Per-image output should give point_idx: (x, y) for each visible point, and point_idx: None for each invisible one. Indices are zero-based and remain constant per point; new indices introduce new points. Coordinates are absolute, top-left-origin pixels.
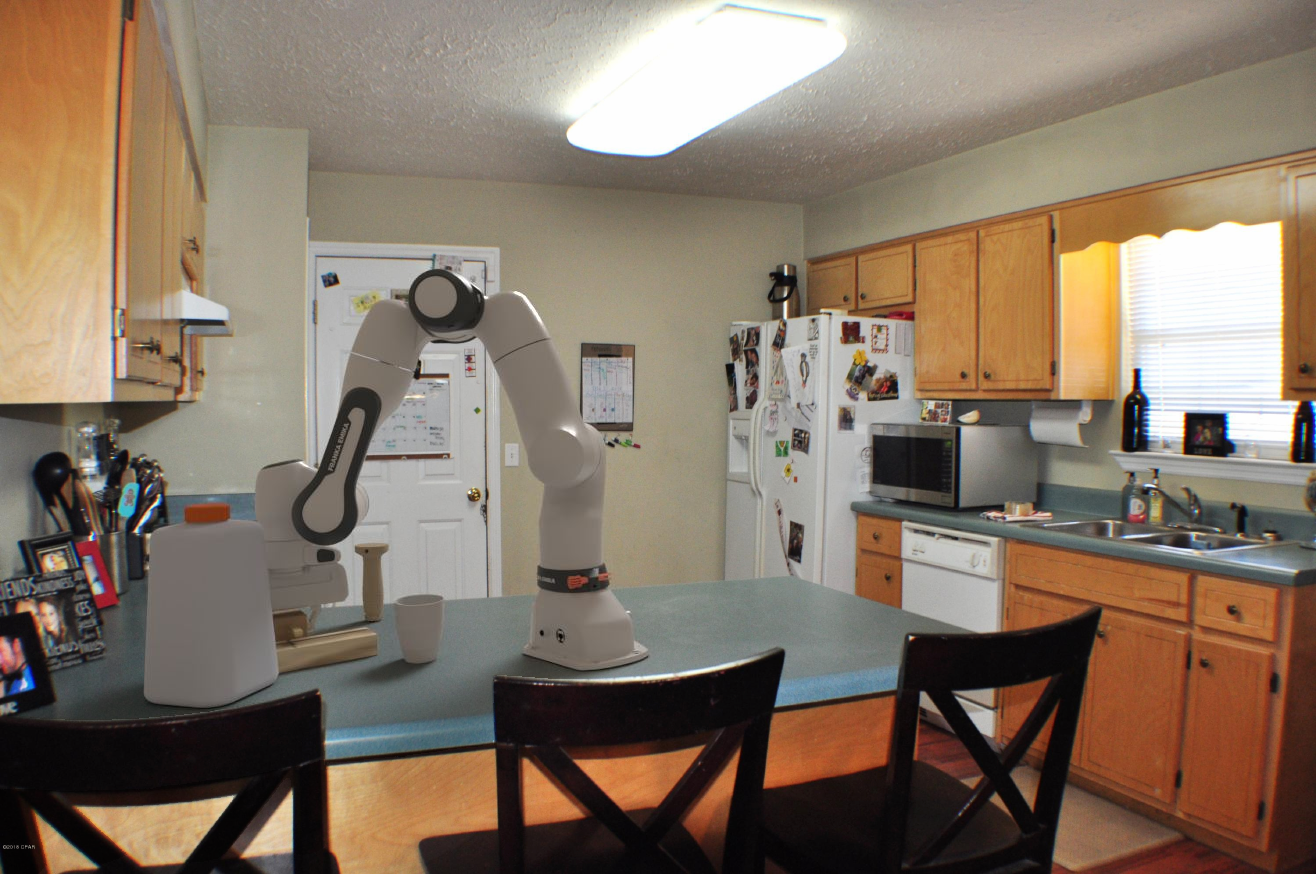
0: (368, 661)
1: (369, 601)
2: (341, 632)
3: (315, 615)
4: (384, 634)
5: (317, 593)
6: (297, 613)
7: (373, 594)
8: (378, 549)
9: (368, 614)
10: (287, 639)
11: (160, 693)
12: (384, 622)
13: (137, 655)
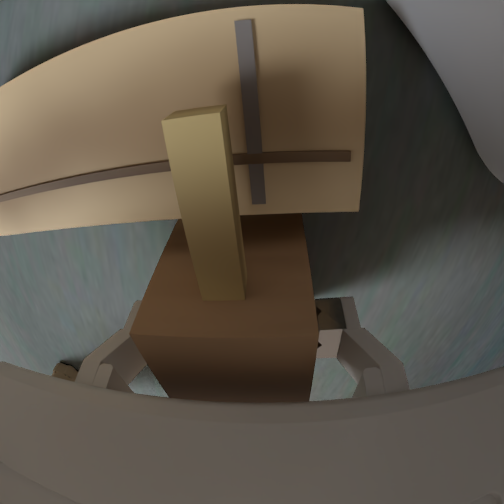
0: (15, 37)
1: None
2: (34, 212)
3: (110, 348)
4: (18, 284)
5: (55, 434)
6: (182, 377)
7: None
8: None
9: (70, 380)
10: (253, 249)
11: None
12: (48, 351)
13: (472, 374)
